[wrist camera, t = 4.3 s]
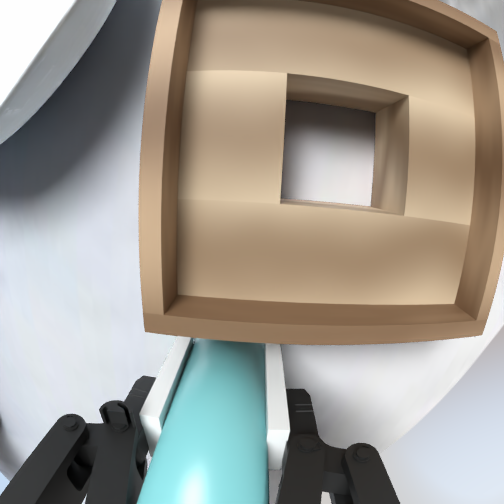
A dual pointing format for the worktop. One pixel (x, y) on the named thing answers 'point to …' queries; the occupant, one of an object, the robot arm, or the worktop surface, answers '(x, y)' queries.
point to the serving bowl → (41, 51)
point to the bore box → (315, 212)
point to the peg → (214, 430)
